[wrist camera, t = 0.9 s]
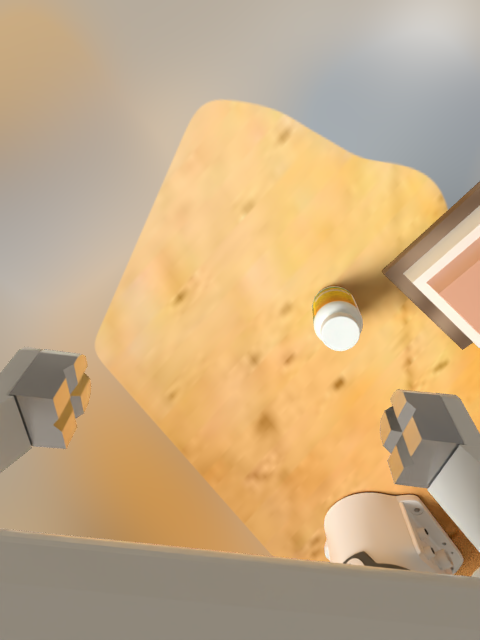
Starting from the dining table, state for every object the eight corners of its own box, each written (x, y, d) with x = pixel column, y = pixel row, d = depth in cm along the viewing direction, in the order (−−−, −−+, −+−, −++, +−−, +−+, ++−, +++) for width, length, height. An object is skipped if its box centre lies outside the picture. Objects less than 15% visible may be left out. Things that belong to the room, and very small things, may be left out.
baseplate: (563, 265, 44) (571, 268, 42) (457, 344, 49) (462, 349, 47) (482, 179, 42) (488, 179, 40) (381, 271, 47) (383, 274, 45)
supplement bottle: (362, 311, 49) (376, 342, 40) (325, 331, 51) (331, 365, 42) (341, 276, 48) (351, 301, 39) (303, 298, 49) (305, 326, 41)
